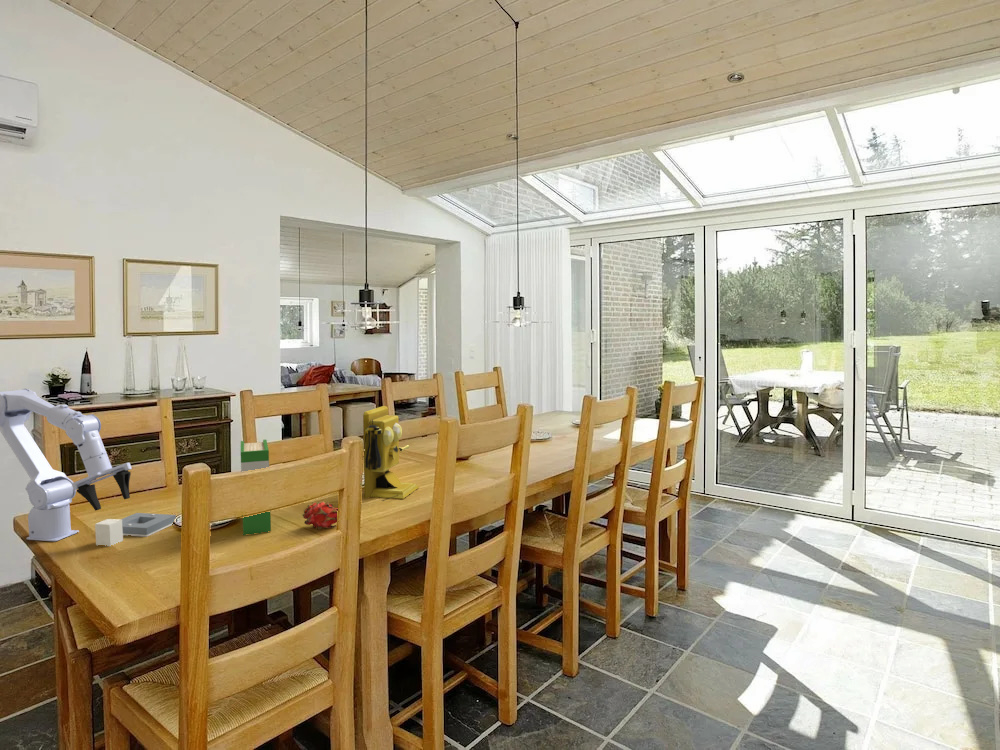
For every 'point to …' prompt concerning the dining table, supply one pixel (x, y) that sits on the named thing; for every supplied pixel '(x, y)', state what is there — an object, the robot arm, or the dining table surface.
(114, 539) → the block
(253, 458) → the hardback book
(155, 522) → the outlet box
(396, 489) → the vintage telephone
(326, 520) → the dragon fruit
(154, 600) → the dining table surface
